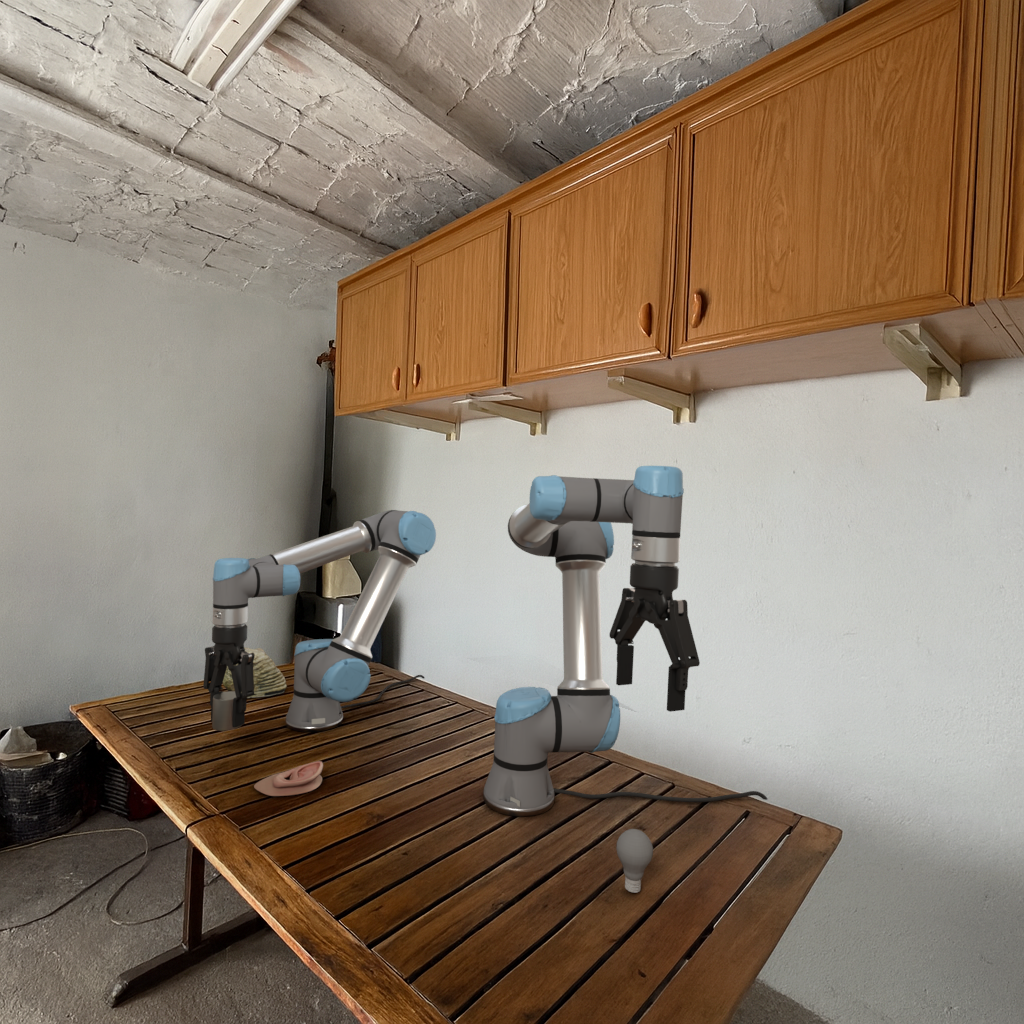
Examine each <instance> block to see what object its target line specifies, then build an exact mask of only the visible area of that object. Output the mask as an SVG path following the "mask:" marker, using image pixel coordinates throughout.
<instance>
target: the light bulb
mask: <svg viewBox="0 0 1024 1024" xmlns="http://www.w3.org/2000/svg"><path fill="white" fill-rule="evenodd" d="M615 849H616V854H617V857H618V859H619V861H620V863H621V865H622V867H623V873H624V874H623V875H624V876H625V878H624V888H625V890H627V891H628V892H630V893H634V894H635V893H639V892H640V891H641V889H642V887H641V886H642V879H643V877H644V875H645V871H646V868H647V867H648V866H649V864H650V863H651V861H652V859H653V855H654V847H653V843H652V841H651V838H649V836H648V835H647V834H646V833H645V832H643V831H642V830H641V829H636V828H629V829H627V830H625V831H623V832H622V833H621V834H620V835H619V837H618V839H617V841H616V847H615Z"/></svg>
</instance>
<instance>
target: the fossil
mask: <svg viewBox="0 0 1024 1024" xmlns="http://www.w3.org/2000/svg"><path fill="white" fill-rule="evenodd" d="M244 648H245V651H246V652H247V653H254V655H255V656H254V661H253V676H254V695H252V696H249V697H247V699H250V698H264V697H271V696H275V695H281V694H284V693H285V691H286V689H287V687H288V686H287V680H286V678H285V676H284V674H283V673H282V672H281V669H279V668H278V667H277V665H276V663H275V662H274V660H273V659H272V658H271V657H270V656H269V655H268V654H267V653H266V652H265V650H264V649H263V648H260V647H258V648H251V647H247V646H246V647H245V646H244ZM236 665H238V664H236ZM236 665H233V666H236ZM222 685H223V688H225V690H226V691H227V692H228V691H235V689H234V684H233V679H232V675H231V671H230V670H229V669H228V666H227V669H226V672H225V676H224V679H223V683H222ZM241 693H242V692H241Z"/></svg>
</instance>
